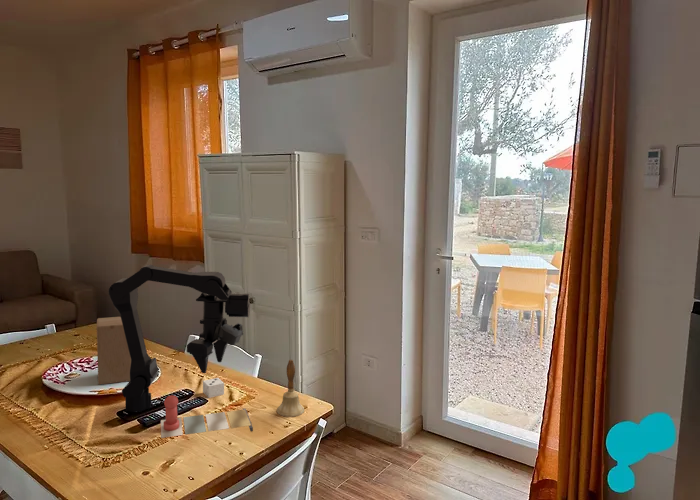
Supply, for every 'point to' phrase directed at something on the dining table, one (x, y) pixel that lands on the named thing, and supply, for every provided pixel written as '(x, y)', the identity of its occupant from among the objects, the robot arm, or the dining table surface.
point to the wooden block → (112, 351)
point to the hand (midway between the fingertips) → (211, 367)
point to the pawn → (171, 413)
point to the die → (213, 387)
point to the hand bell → (290, 396)
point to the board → (209, 423)
